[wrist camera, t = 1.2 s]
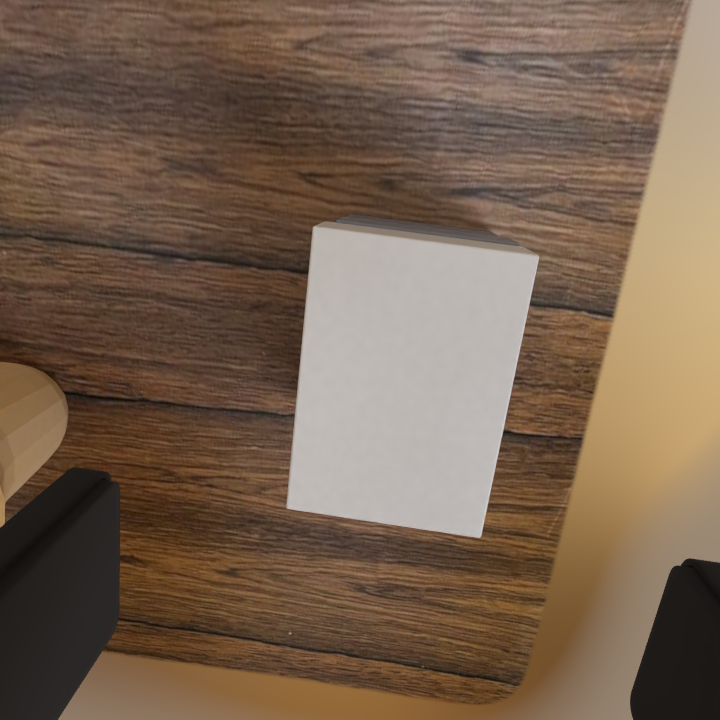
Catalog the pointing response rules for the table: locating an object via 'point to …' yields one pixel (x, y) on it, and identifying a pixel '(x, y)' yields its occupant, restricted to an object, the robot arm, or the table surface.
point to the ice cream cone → (27, 425)
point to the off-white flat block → (406, 375)
